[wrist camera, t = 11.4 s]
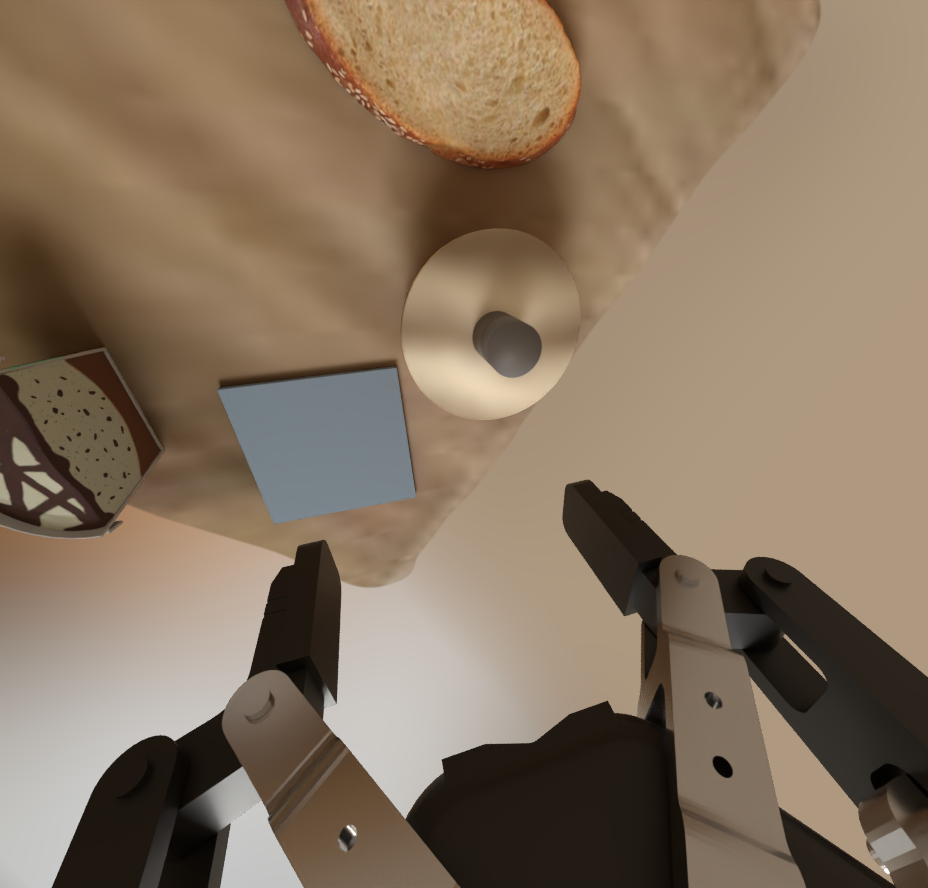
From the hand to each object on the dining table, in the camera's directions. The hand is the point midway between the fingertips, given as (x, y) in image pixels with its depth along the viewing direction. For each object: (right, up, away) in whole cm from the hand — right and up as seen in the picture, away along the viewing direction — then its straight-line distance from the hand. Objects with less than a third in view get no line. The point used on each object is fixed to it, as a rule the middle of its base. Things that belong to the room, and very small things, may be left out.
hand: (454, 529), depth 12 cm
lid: (+2, +11, +16) cm, 20 cm away
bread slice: (-1, +31, +12) cm, 33 cm away
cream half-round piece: (-30, +6, +18) cm, 35 cm away
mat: (-13, +2, +24) cm, 27 cm away
